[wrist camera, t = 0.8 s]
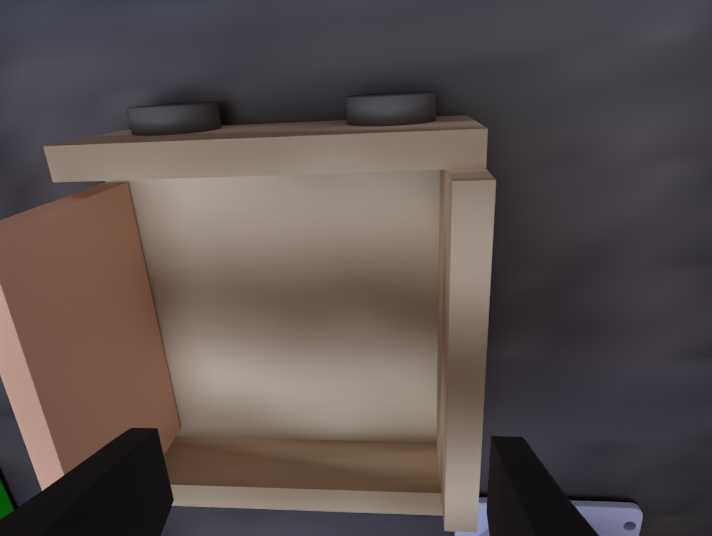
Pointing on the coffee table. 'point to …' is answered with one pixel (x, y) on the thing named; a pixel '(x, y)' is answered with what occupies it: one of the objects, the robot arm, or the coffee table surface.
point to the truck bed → (315, 300)
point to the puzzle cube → (5, 501)
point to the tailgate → (80, 330)
